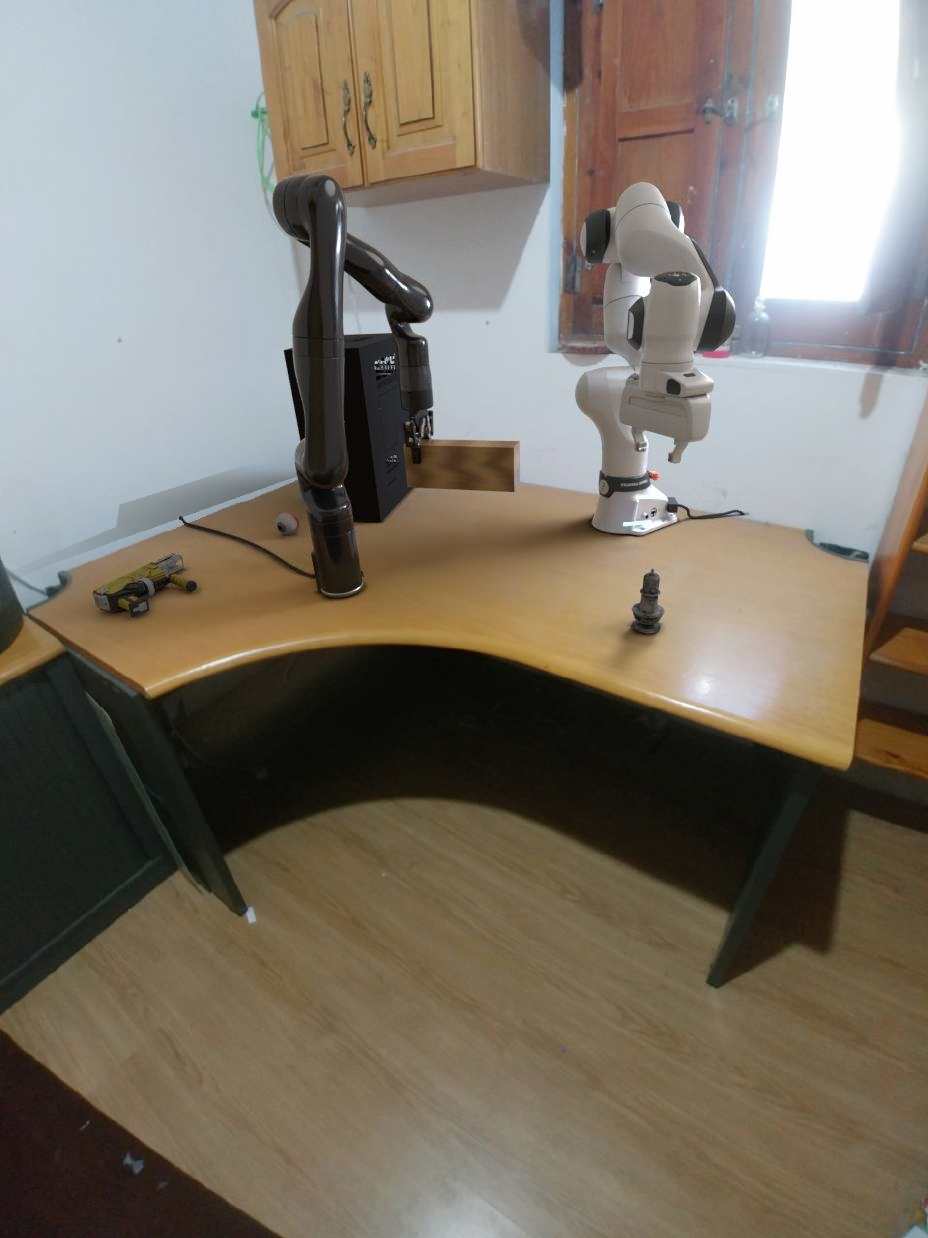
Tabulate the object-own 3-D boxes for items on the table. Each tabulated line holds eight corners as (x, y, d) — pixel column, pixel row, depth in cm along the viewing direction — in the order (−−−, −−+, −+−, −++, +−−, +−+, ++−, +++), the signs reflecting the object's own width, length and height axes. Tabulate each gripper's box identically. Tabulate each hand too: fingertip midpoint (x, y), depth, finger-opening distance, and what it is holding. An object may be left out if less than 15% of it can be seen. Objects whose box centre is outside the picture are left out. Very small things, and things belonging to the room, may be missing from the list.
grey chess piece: (663, 635, 111) (671, 576, 105) (630, 633, 112) (636, 575, 106) (661, 619, 116) (668, 562, 110) (629, 617, 117) (635, 561, 111)
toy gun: (221, 561, 143) (169, 550, 147) (142, 604, 123) (85, 590, 127) (223, 579, 146) (173, 568, 149) (147, 624, 125) (91, 610, 129)
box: (520, 484, 144) (519, 441, 139) (514, 492, 140) (513, 447, 135) (416, 480, 152) (412, 438, 147) (407, 487, 147) (403, 444, 142)
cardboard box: (380, 521, 169) (358, 347, 147) (314, 519, 174) (283, 350, 151) (419, 480, 201) (406, 332, 178) (362, 479, 205) (342, 334, 183)
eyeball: (273, 537, 164) (268, 516, 161) (287, 528, 169) (282, 508, 166) (291, 539, 161) (286, 518, 158) (305, 530, 166) (301, 510, 163)
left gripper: (412, 381, 144) (418, 451, 153) (387, 391, 132) (396, 467, 141) (441, 380, 142) (446, 452, 151) (419, 392, 130) (426, 468, 139)
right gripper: (613, 373, 113) (608, 447, 120) (692, 387, 97) (681, 472, 104) (640, 369, 115) (634, 442, 122) (722, 383, 99) (709, 466, 106)
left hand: (421, 459), depth 146 cm, fingers closed on box, 6 cm apart
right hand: (656, 456), depth 113 cm, fingers open, 8 cm apart
